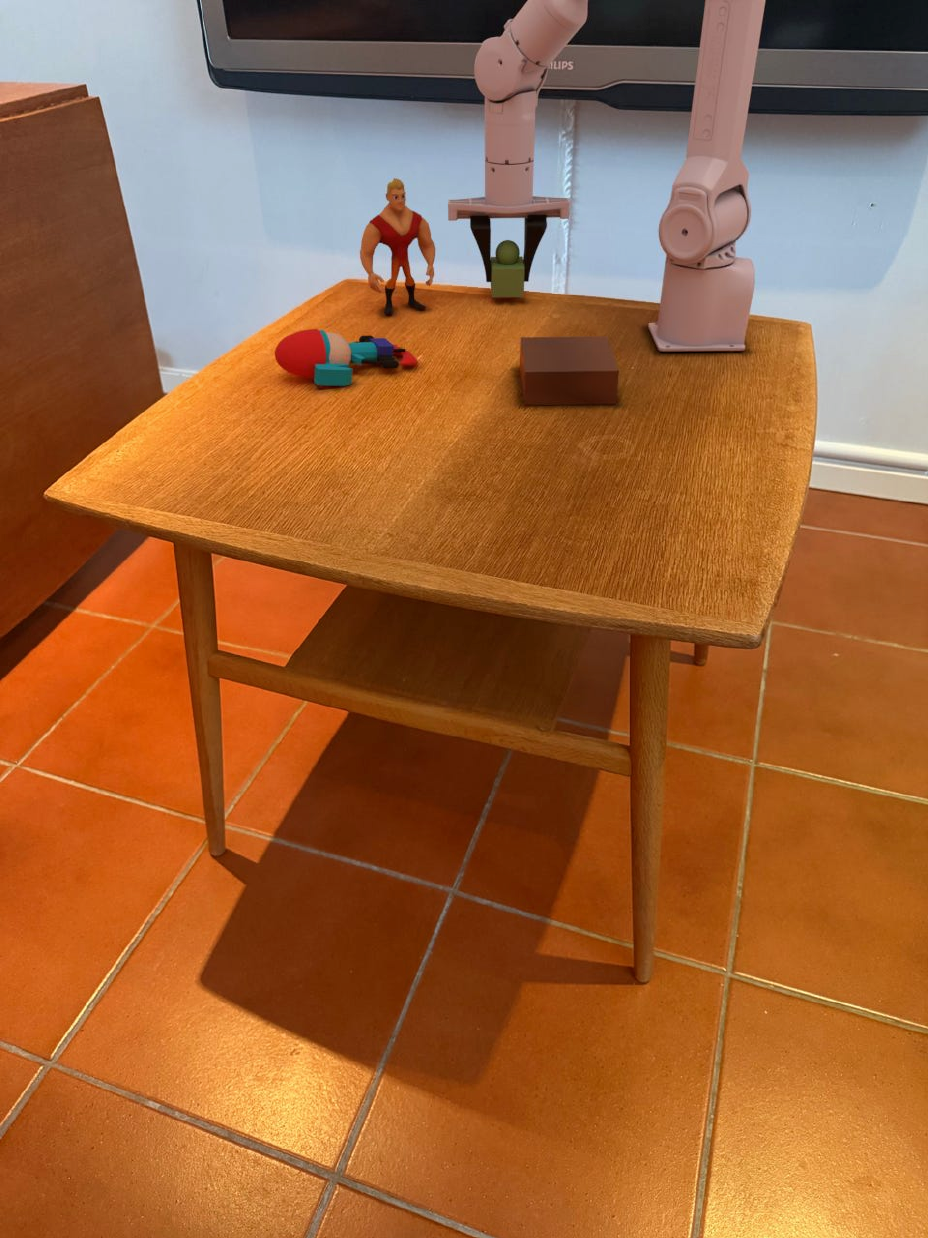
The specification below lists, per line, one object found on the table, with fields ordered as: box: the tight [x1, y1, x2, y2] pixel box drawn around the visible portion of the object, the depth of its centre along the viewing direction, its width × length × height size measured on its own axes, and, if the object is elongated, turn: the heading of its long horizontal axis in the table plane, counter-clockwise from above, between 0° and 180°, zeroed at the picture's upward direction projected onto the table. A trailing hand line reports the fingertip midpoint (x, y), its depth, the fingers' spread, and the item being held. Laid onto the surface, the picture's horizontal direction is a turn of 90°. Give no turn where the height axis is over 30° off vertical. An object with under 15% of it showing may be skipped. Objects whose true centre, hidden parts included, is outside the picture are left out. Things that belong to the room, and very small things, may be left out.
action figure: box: [359, 177, 436, 316], centre depth 104 cm, size 10×4×15 cm, turn 114°
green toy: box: [490, 239, 525, 299], centre depth 110 cm, size 4×5×6 cm
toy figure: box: [274, 328, 419, 387], centre depth 93 cm, size 8×5×15 cm
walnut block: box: [519, 336, 620, 406], centre depth 89 cm, size 9×9×4 cm
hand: (507, 279), depth 111 cm, fingers closed on green toy, 4 cm apart
